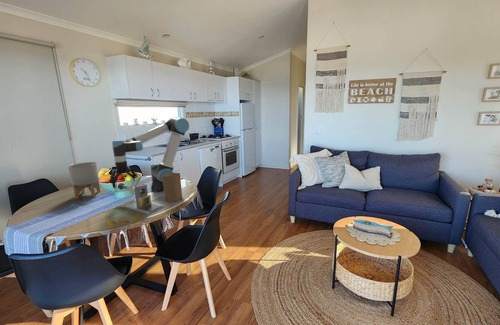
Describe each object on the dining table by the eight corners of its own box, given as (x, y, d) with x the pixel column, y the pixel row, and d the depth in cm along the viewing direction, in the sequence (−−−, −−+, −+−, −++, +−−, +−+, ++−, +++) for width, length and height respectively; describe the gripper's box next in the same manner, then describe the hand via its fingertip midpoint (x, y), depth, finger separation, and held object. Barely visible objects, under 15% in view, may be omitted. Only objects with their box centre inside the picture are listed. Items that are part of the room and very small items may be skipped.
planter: (82, 200, 187) (75, 168, 182) (69, 196, 197) (63, 166, 191) (106, 193, 203) (101, 163, 197) (93, 189, 213) (88, 161, 207)
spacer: (151, 204, 174) (150, 194, 173) (142, 208, 168) (140, 197, 166) (149, 203, 175) (148, 193, 174) (140, 207, 169) (139, 197, 167)
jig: (164, 206, 173) (162, 185, 169) (147, 214, 161) (144, 192, 157) (142, 201, 184) (140, 181, 181) (125, 207, 173) (122, 186, 169)
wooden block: (176, 201, 181) (174, 176, 177) (164, 201, 183) (161, 175, 179) (182, 197, 191) (180, 172, 186) (171, 196, 193) (168, 172, 188)
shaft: (144, 193, 173) (144, 187, 172) (138, 195, 169) (138, 189, 168) (124, 188, 185) (123, 182, 184) (118, 190, 181) (117, 184, 180)
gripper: (133, 157, 188) (136, 183, 193) (100, 164, 167) (105, 193, 172) (139, 158, 184) (142, 184, 189) (106, 165, 163) (111, 195, 168)
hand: (124, 188), depth 180 cm, fingers open, 13 cm apart
